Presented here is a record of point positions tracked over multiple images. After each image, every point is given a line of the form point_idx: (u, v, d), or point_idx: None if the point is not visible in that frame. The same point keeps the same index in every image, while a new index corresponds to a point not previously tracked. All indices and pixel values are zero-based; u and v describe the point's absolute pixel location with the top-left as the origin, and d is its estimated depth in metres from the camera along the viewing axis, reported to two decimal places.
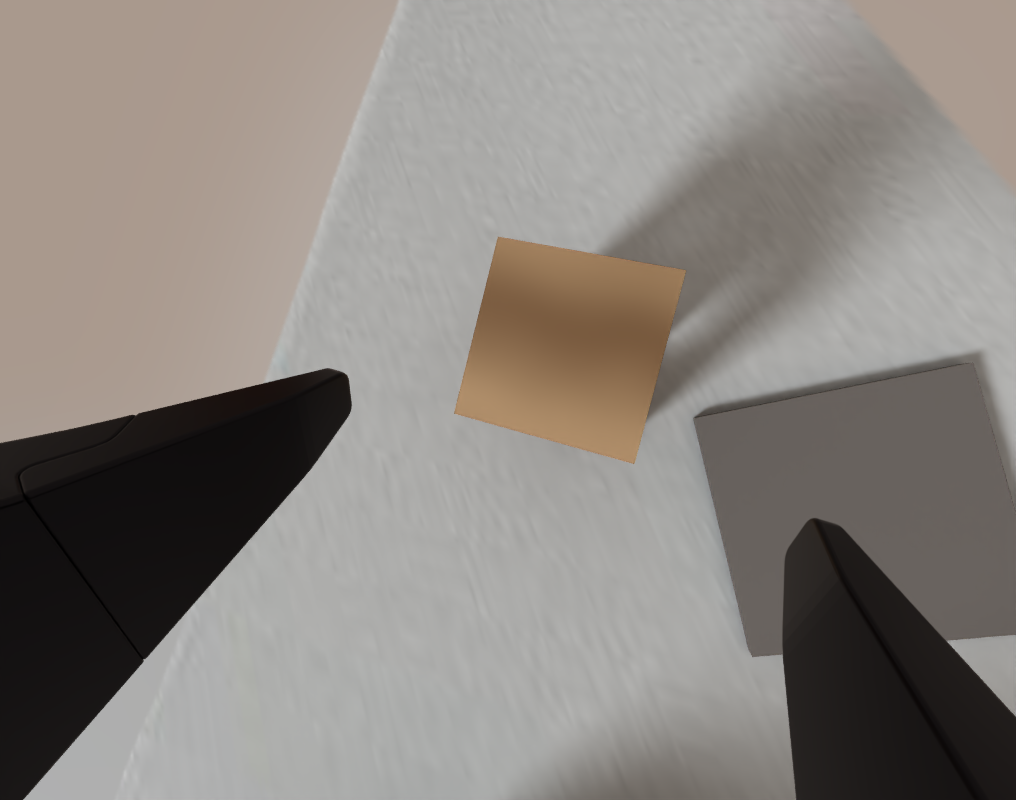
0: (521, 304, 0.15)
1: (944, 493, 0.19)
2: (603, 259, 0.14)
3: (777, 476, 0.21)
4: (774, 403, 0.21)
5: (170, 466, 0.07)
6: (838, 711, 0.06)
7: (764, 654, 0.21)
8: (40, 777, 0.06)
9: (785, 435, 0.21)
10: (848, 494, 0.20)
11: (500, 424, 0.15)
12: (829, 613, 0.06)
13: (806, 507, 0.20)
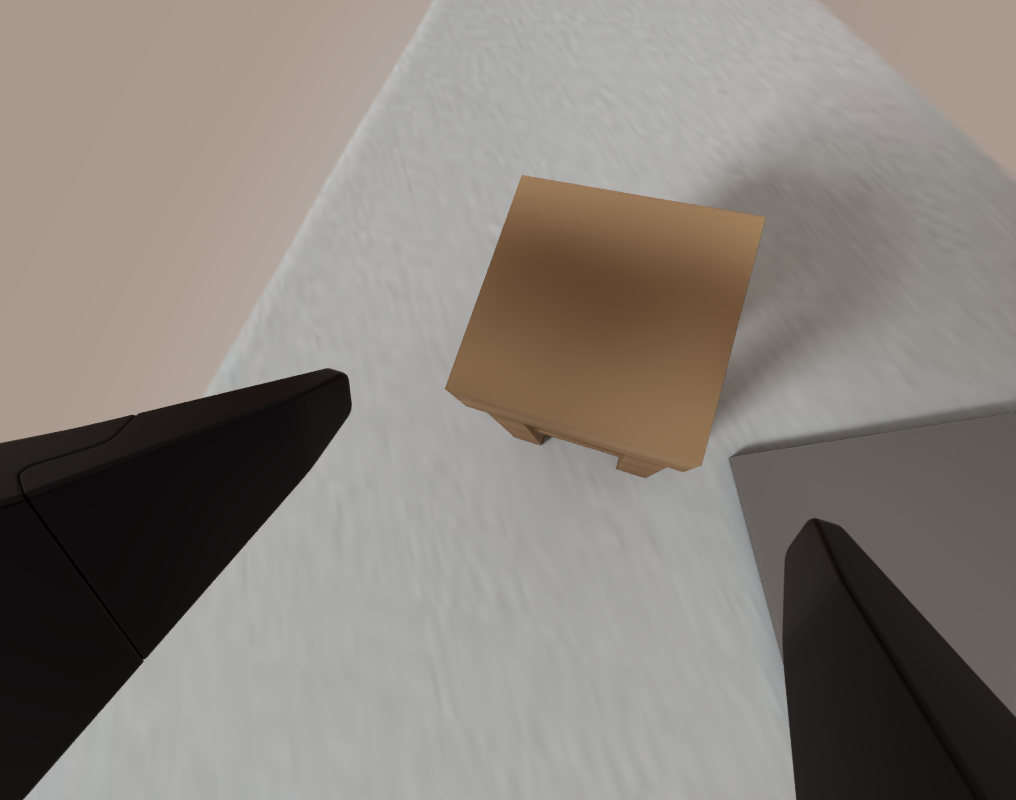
0: (548, 252, 0.11)
1: None
2: (656, 203, 0.11)
3: None
4: (829, 442, 0.17)
5: (170, 466, 0.07)
6: (838, 711, 0.06)
7: None
8: (40, 777, 0.06)
9: (846, 482, 0.17)
10: (933, 561, 0.16)
11: (509, 405, 0.11)
12: (829, 613, 0.06)
13: None
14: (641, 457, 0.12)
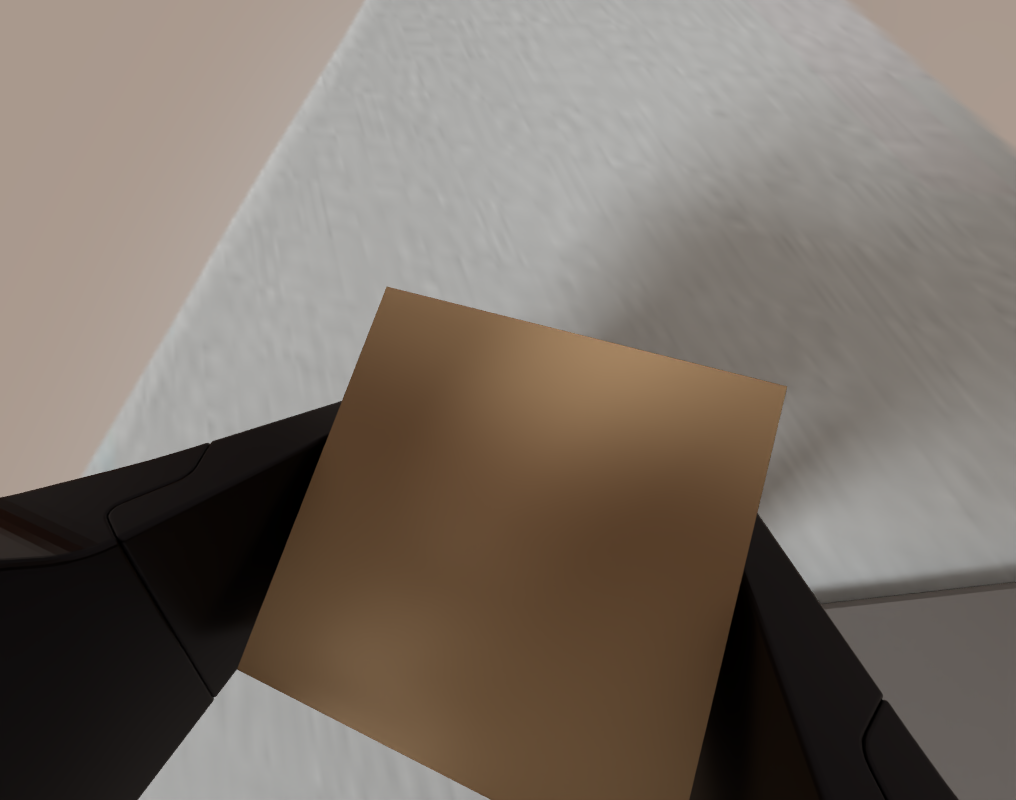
0: (418, 427, 0.07)
1: None
2: (599, 347, 0.07)
3: None
4: (863, 606, 0.12)
5: (250, 498, 0.06)
6: None
7: None
8: None
9: (887, 667, 0.12)
10: (1013, 795, 0.11)
11: (337, 714, 0.06)
12: None
13: None
14: None
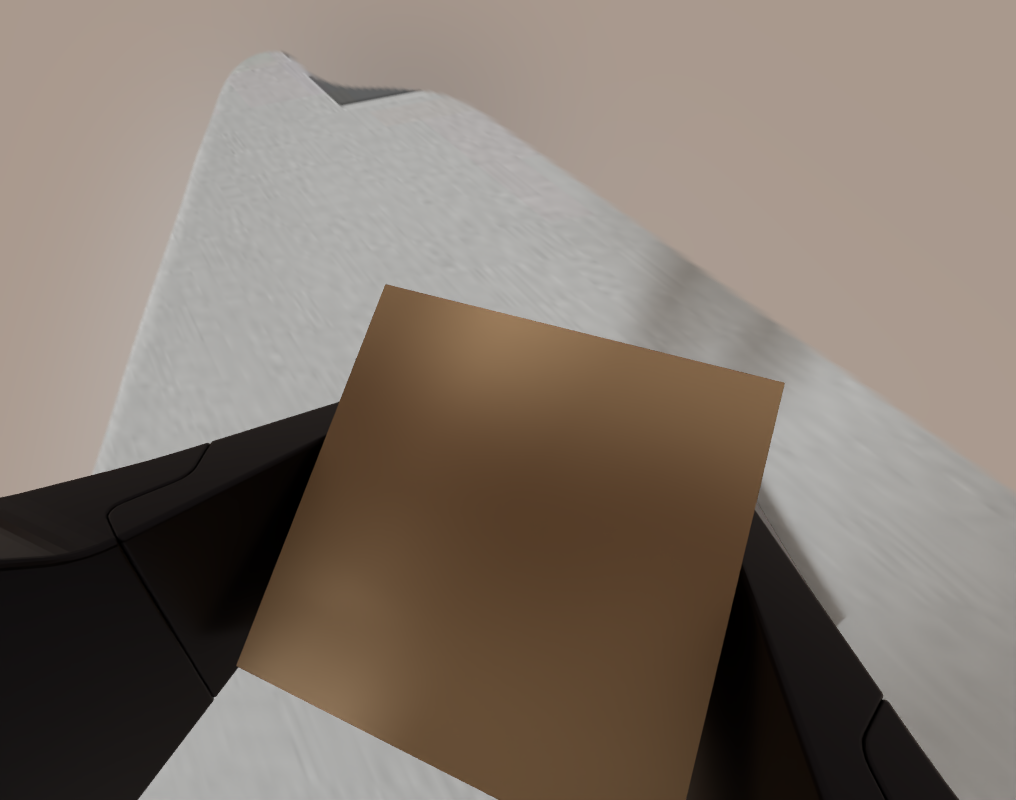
0: (417, 425, 0.07)
1: None
2: (597, 345, 0.07)
3: None
4: None
5: (250, 498, 0.06)
6: (718, 664, 0.06)
7: None
8: None
9: None
10: None
11: (336, 710, 0.06)
12: None
13: None
14: None
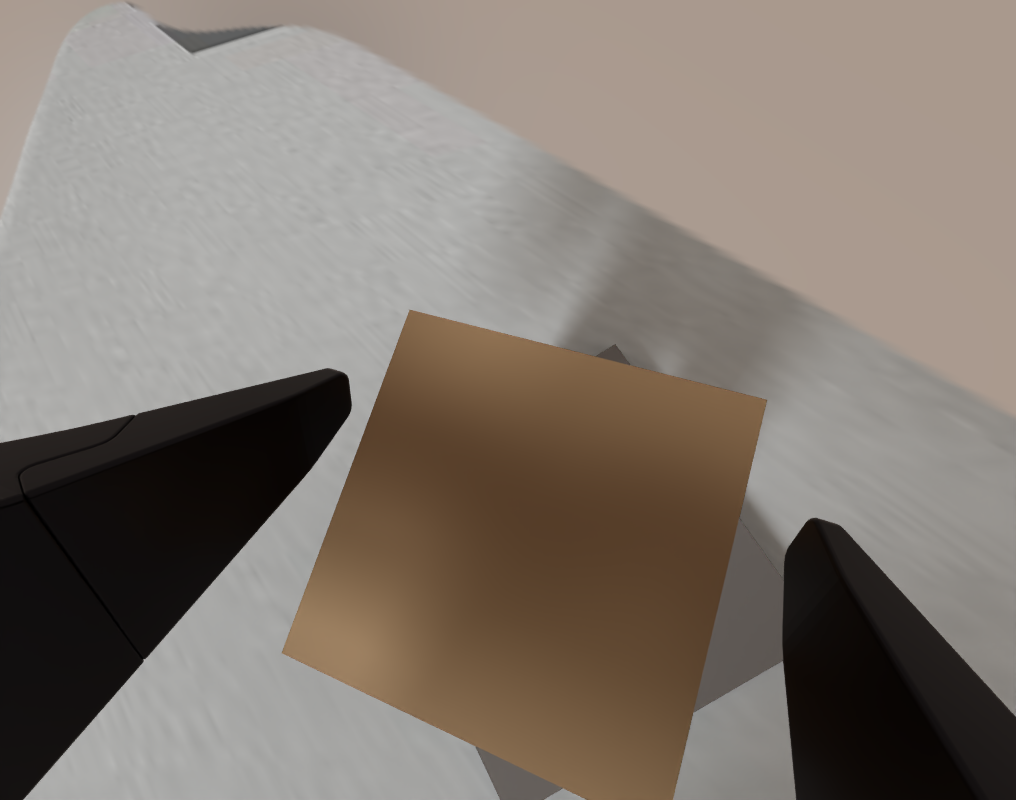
0: (440, 437, 0.08)
1: None
2: (602, 365, 0.07)
3: None
4: None
5: (170, 466, 0.07)
6: (838, 711, 0.06)
7: None
8: (40, 777, 0.06)
9: None
10: None
11: (372, 691, 0.07)
12: (829, 613, 0.06)
13: None
14: None
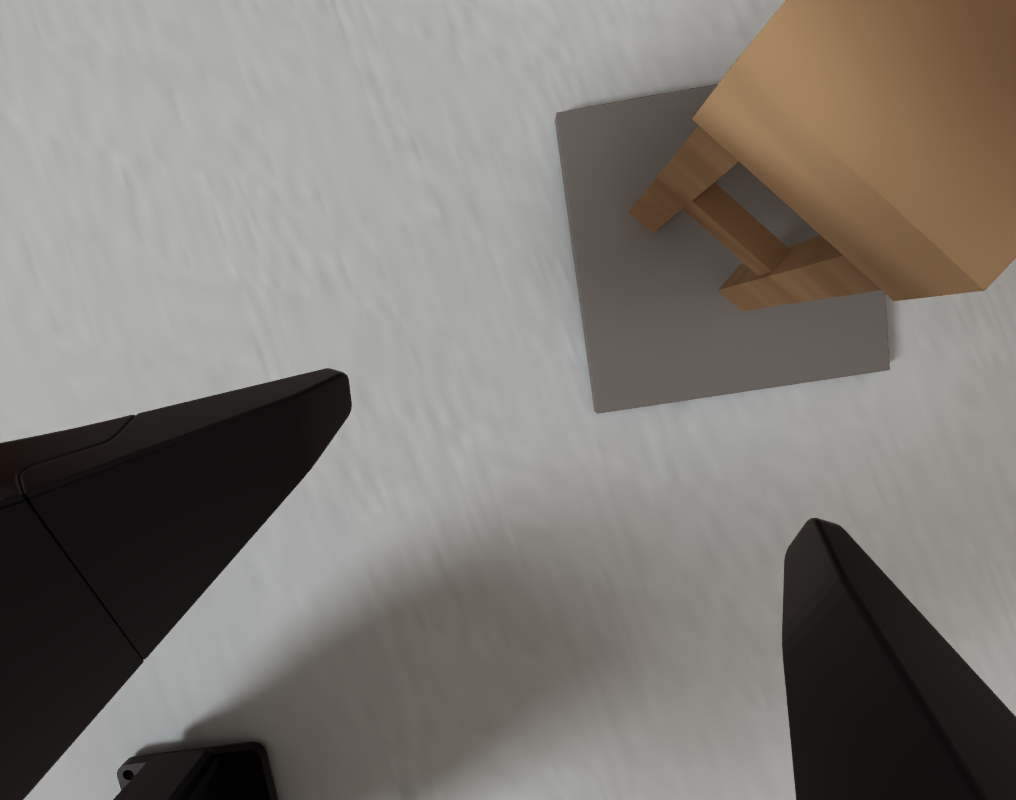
0: None
1: None
2: None
3: None
4: (652, 97, 0.16)
5: (170, 466, 0.07)
6: (838, 711, 0.06)
7: None
8: (40, 777, 0.06)
9: (660, 140, 0.16)
10: None
11: (806, 123, 0.08)
12: (829, 613, 0.06)
13: (673, 233, 0.17)
14: (870, 265, 0.10)
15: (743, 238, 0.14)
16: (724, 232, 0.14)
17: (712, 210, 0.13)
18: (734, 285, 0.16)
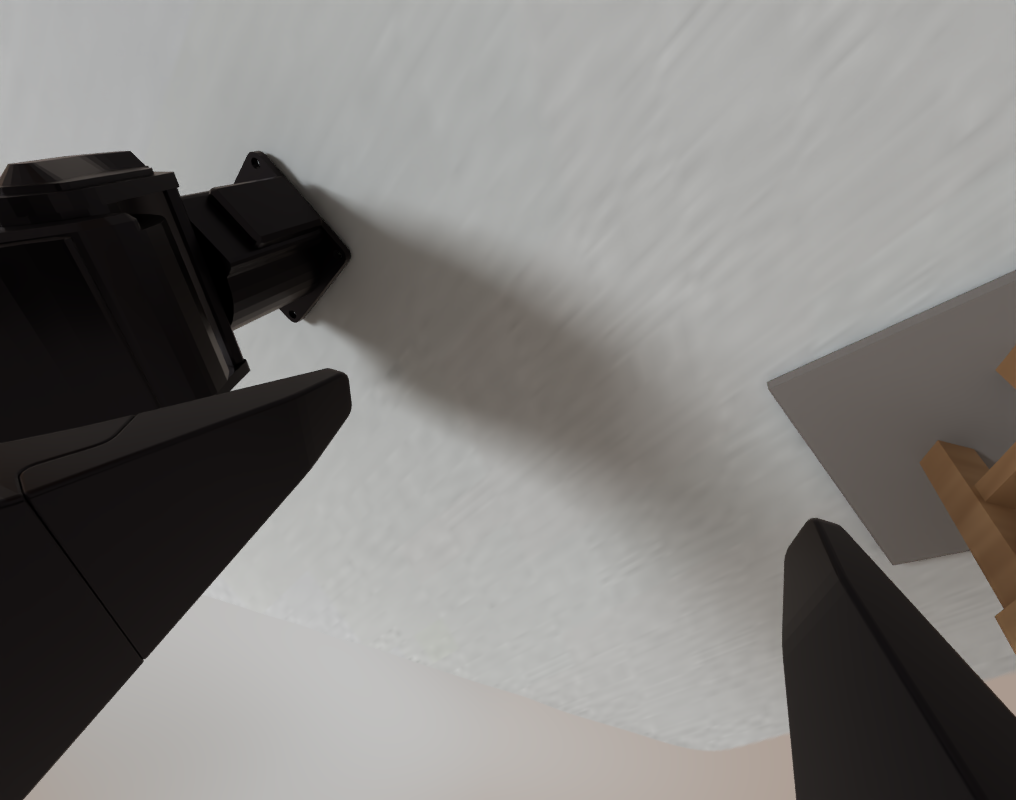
0: None
1: None
2: None
3: None
4: None
5: (170, 466, 0.07)
6: (838, 711, 0.06)
7: (774, 397, 0.19)
8: (40, 777, 0.06)
9: None
10: None
11: None
12: (829, 613, 0.06)
13: (1000, 387, 0.16)
14: None
15: None
16: None
17: None
18: (952, 460, 0.17)
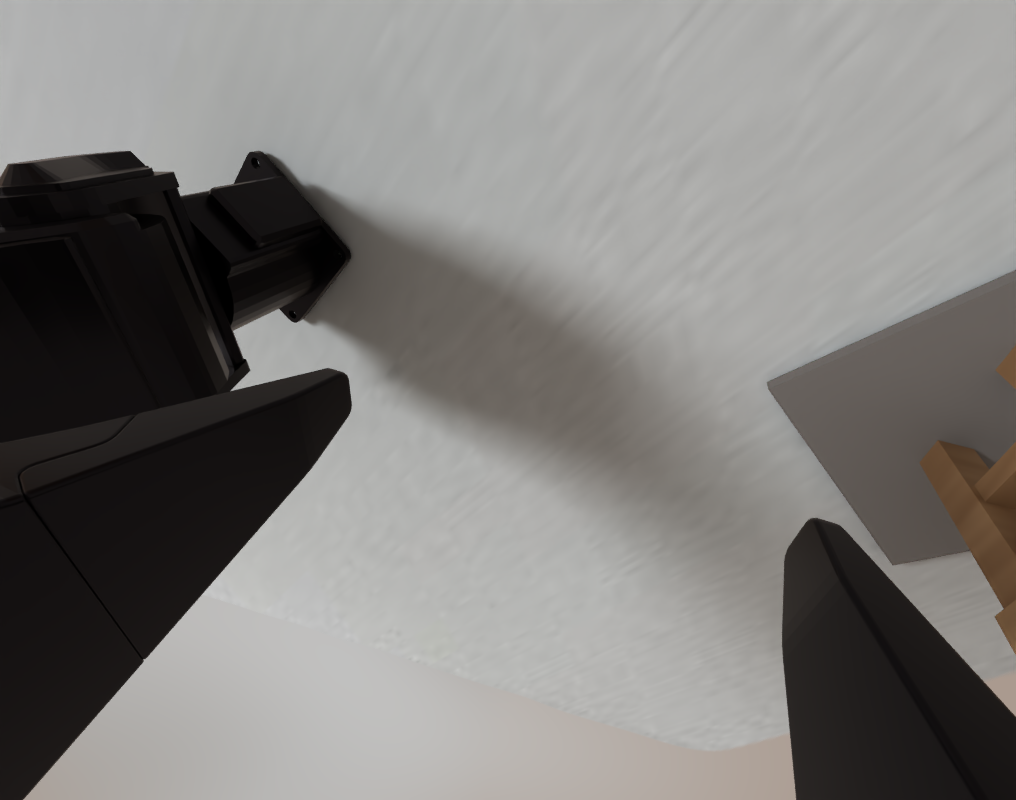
0: None
1: None
2: None
3: None
4: None
5: (170, 466, 0.07)
6: (838, 711, 0.06)
7: (774, 397, 0.19)
8: (40, 777, 0.06)
9: None
10: None
11: None
12: (829, 613, 0.06)
13: (1000, 387, 0.16)
14: None
15: None
16: None
17: None
18: (952, 460, 0.17)
